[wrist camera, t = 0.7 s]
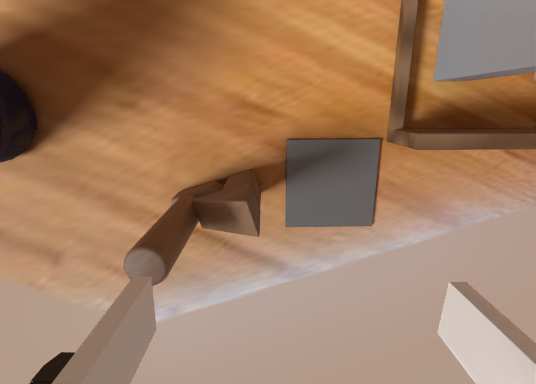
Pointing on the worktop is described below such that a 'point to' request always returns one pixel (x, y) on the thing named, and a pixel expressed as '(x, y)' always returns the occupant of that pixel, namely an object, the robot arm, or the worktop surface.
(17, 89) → the grenade
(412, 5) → the frame
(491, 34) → the grey rectangular block
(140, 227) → the worktop surface
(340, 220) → the mat
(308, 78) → the worktop surface
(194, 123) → the worktop surface
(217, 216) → the brown long-handled part
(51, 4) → the worktop surface
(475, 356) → the robot arm
